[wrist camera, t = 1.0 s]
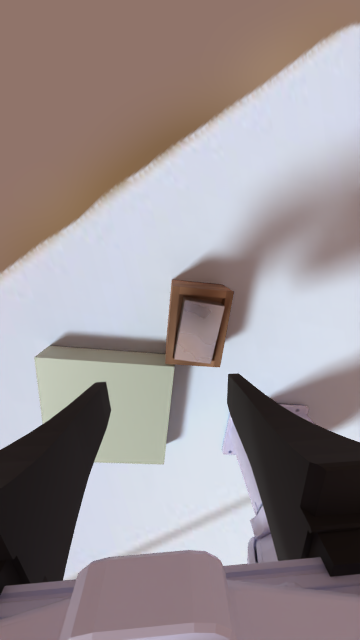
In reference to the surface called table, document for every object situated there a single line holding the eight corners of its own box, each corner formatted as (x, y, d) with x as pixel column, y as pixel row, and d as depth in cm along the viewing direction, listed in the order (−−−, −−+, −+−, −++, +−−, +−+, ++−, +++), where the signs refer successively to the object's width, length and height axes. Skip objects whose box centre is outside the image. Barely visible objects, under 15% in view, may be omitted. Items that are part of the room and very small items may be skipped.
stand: (174, 354, 22) (174, 366, 20) (164, 445, 26) (163, 464, 24) (49, 345, 21) (34, 357, 19) (58, 441, 25) (47, 460, 23)
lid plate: (220, 302, 18) (224, 306, 16) (207, 355, 19) (210, 363, 18) (183, 296, 17) (185, 300, 16) (173, 351, 19) (174, 359, 18)
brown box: (221, 284, 21) (233, 291, 17) (211, 347, 23) (219, 367, 19) (171, 279, 20) (172, 285, 16) (165, 344, 22) (165, 363, 19)
